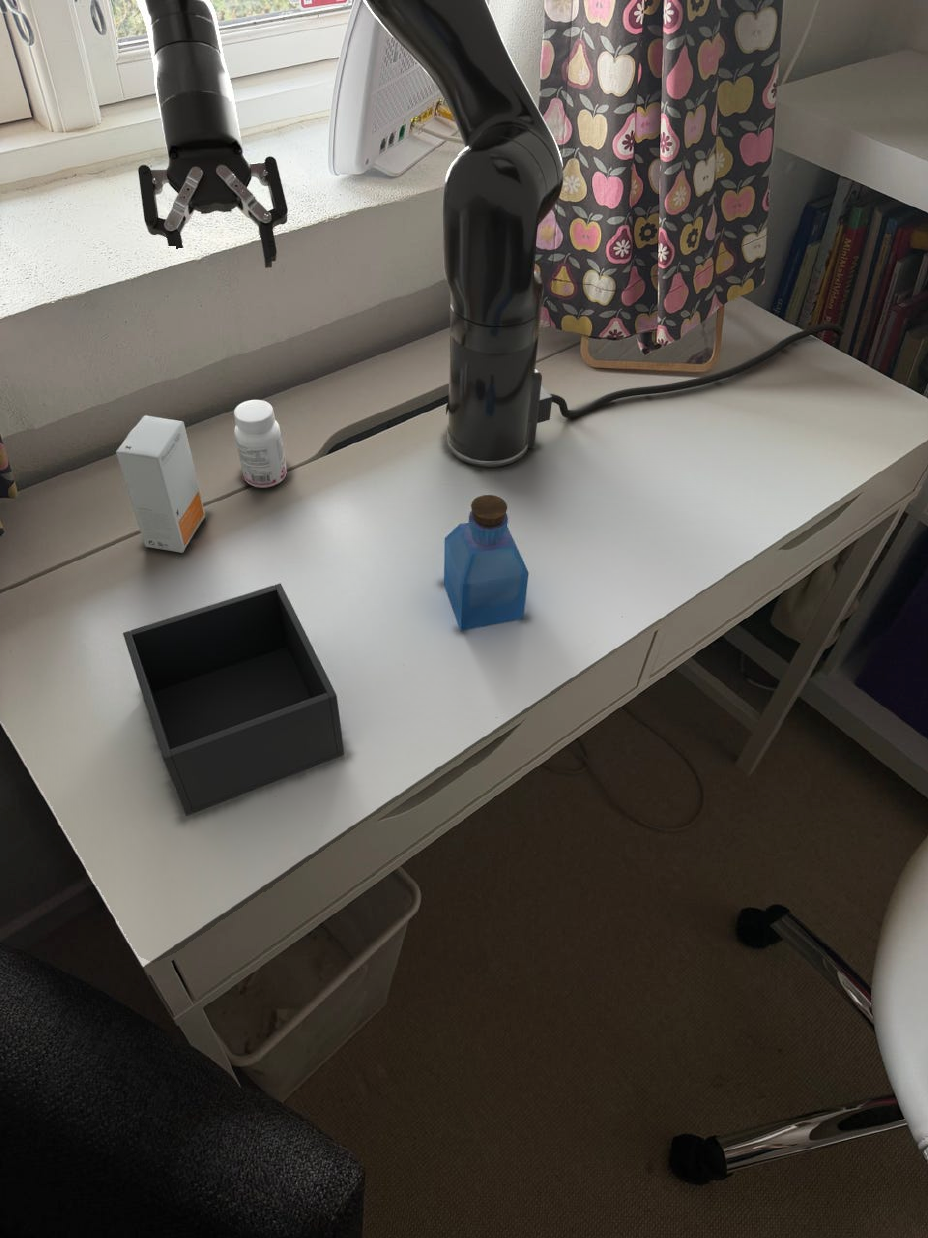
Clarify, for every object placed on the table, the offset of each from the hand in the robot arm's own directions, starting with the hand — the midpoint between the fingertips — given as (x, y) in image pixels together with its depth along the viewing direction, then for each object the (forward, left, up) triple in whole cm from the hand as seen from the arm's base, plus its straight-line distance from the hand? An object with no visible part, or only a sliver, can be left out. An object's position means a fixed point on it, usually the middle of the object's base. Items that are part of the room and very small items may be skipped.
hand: (227, 268), depth 91 cm
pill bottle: (+2, +11, -18) cm, 21 cm away
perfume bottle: (-11, +38, -18) cm, 44 cm away
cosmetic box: (+13, +16, -18) cm, 28 cm away
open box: (+14, +42, -18) cm, 48 cm away
